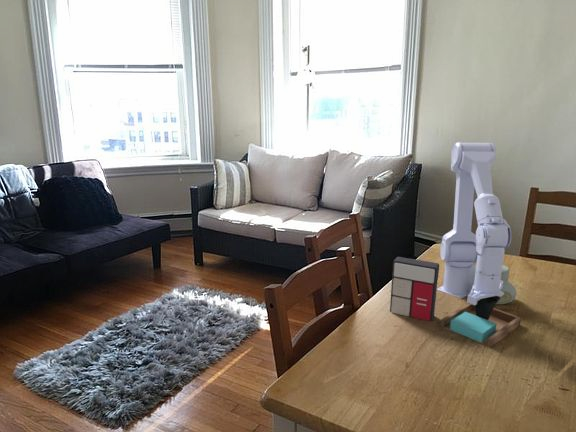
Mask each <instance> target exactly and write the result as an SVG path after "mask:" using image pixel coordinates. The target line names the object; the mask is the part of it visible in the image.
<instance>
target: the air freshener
mask: <svg viewBox="0 0 576 432" xmlns="http://www.w3.org/2000/svg"><path fill="white" fill-rule="evenodd" d="M509 276H510V268H509V267H508V266H506V265H504V264H503V266H502V273H501V281H503V288H502V289H500V291H503V292H504V295H503V296H501V297H500V300H499V301H498V302H497V303H496V305H505V304H509V303H511V302H512V301H514V300H515V299H516V298H517V294H518V293H517V288H516V287H515V286H514V285H513V283H512V282H510V281H509V278H510V277H509Z"/></svg>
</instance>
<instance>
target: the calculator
mask: <svg viewBox="0 0 576 432" xmlns="http://www.w3.org/2000/svg"><path fill="white" fill-rule="evenodd" d="M439 270H440V264H439V263H436V262H432V261H426V260H421V259H414V258H407V257H402V256H397V257H396V258H395V259H394V260H393V262H392V273H391V276H392V277H391V288H390V289H391V290H390V304H389V306H390V307H389V311H390V313H392V314H396V315H401V316H405V317H411V318H413V319H419V320H422V321H427V322H429V321H433V319H434V317H435V310H436V309H435V308H436V302H437V301H436V298H437V291H438V290H437V287H438V280H439V273H440V271H439Z"/></svg>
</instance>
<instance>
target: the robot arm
mask: <svg viewBox="0 0 576 432" xmlns="http://www.w3.org/2000/svg"><path fill="white" fill-rule="evenodd" d="M496 150H497V149H496V146H495V144H494V143H493V142H460V141H457V142H456V143H454V145H453V148H452V149H451V155H450V157H451V158H450V170H451V172H453V173H455V176H456V177H455V178H456V179H455V180H456V183H455V194H454V195H455V196H454V212H453V213H454V214H453V225H452V227H453V228H452V229H451V230H450V231H448V232H447V233H445V234H444V235H443V236H442V238H441V244H440V247H439V249H440V251H439V252H440V253H439V254H440V258H441V260H442V262H443V263H444V264H445V265H444V273H443V281H442V282H443V283H442V285H441V286H440V287H438V288H437V291H439V292H443V293H445V294H448V295H451V296H454V297H456V298H459V299H463V298H465V297H467V301H466V303H467V304H468V303H470V304H473V305H474V307H475V311H476V316H478V317H481V318H483V319H486V320H489V317H490V315H491V312H492V310H493V308H495V306H496V305H497V304H496V303H497V302H498V301H499V300H500V297H501V296H503V295H504V292H503V291H500V289H502V288H503V281H501V273H502V266H503V265H504V258H505V257H504V256H505V249H506V248H509V247H510V246H511V243H512V230H511V226H510V225H509V223H508V222H507V220H506V219H504V217H503V211H502V207H501V201H500V199H499V197H497V196H496V195H495V194H494V191H493V190H494V189H493V181H492V168H493V166H494V162H495V159H496V156H497V151H496ZM475 193H476V196H477V198H476V199H475V200H474V196H475ZM473 207H474V208H473ZM473 210H475V211H474V212H475V217H476V222H477V228H476V230H475V233H474V232H472V224H473V223H472V222H473V213H474V212H473ZM475 264H476V265H475Z"/></svg>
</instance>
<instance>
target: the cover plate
mask: <svg viewBox="0 0 576 432" xmlns="http://www.w3.org/2000/svg"><path fill="white" fill-rule="evenodd" d="M496 325H497V323H494V322H491V321H489V320H486V319H483V318H481V317H478V316H476V315H473V314H470V313H468V312H464V313H462V314H461V315H459V316H458V317H456V318H454V319H453V320H451V326H450V330H452V331H454V332H457V333H459V334H462V335H464V336H466V337H469V338H471V339H473V340H476V341H478V342H481V343H482V342H484V341H485V340H486V339H488V338H489V337H490V336H492V335H493V334H494V333H495V332H496ZM450 330H449V331H450ZM452 331H451V332H452ZM454 332H453V333H454ZM457 333H456V334H457ZM459 334H458V335H459ZM462 335H461V336H462ZM464 336H463V337H464ZM466 337H465V338H466ZM469 338H468V339H469ZM471 339H470V340H471ZM473 340H472V341H473ZM476 341H475V342H476ZM478 342H477V343H478ZM481 343H480V344H481Z"/></svg>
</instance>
